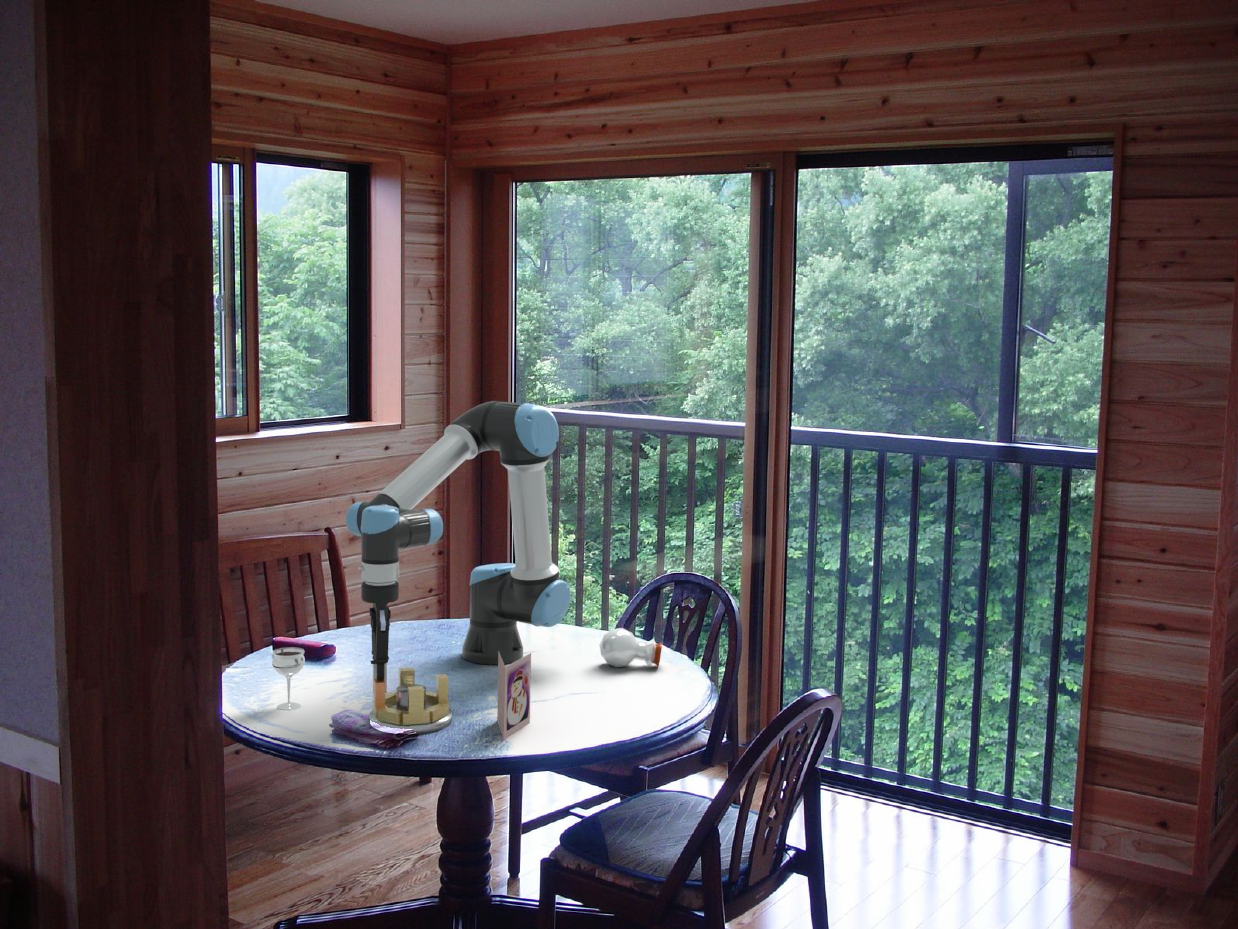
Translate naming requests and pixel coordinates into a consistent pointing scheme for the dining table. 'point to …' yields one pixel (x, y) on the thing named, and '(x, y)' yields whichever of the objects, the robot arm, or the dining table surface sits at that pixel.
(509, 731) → the greeting card
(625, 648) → the potion bottle
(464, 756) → the dining table surface
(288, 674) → the wineglass
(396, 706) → the silver round piece
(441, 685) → the gold crown
